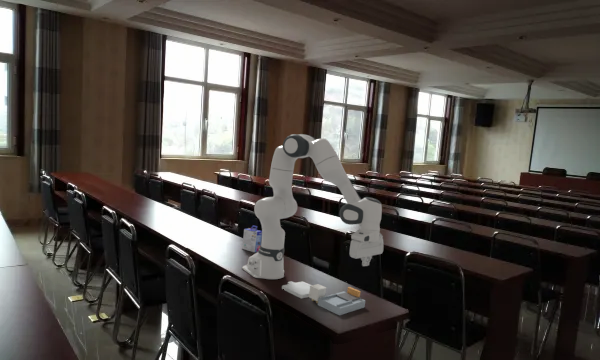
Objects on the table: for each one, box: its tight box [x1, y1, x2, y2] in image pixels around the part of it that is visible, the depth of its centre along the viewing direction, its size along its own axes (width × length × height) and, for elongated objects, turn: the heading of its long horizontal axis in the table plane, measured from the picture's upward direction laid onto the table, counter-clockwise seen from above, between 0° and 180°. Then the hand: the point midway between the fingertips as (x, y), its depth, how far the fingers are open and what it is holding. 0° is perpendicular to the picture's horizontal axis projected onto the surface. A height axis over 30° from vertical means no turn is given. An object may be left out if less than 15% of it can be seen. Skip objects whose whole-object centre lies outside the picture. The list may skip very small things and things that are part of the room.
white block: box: [308, 283, 327, 304], centre depth 185 cm, size 5×5×6 cm
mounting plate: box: [281, 280, 312, 299], centre depth 196 cm, size 18×13×2 cm
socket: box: [317, 290, 366, 316], centre depth 183 cm, size 12×16×4 cm
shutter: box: [336, 286, 362, 301], centre depth 186 cm, size 7×8×3 cm
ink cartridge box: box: [241, 225, 262, 253], centre depth 254 cm, size 10×6×14 cm, turn 58°
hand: (365, 265), depth 191 cm, fingers closed
